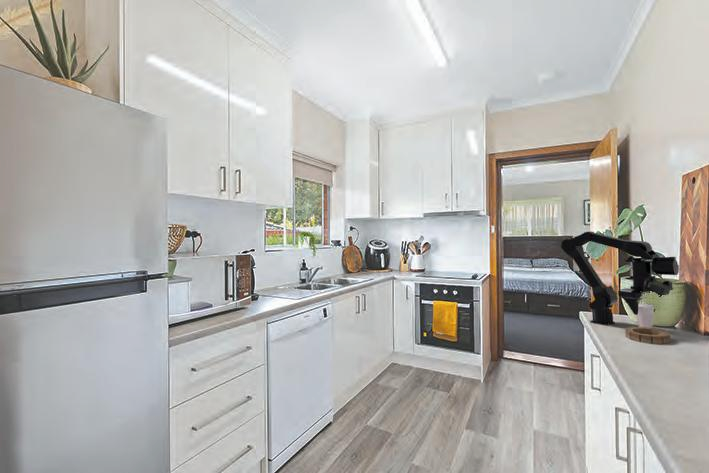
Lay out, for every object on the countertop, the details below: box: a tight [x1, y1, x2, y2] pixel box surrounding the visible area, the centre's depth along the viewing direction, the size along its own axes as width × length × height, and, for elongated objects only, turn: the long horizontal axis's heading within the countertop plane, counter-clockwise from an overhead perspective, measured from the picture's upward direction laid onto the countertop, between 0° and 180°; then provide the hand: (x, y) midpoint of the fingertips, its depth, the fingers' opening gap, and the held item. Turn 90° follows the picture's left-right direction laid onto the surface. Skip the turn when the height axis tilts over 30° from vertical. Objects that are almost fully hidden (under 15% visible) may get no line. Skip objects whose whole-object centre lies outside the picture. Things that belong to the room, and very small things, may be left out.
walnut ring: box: [624, 326, 671, 345], centre depth 121 cm, size 12×12×2 cm
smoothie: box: [635, 294, 656, 328], centre depth 130 cm, size 6×6×14 cm
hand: (644, 313), depth 130 cm, fingers open, 9 cm apart
